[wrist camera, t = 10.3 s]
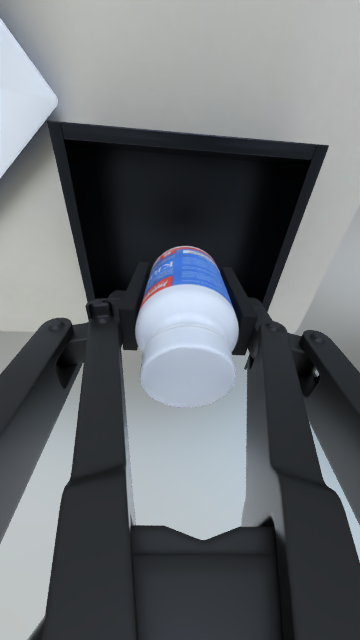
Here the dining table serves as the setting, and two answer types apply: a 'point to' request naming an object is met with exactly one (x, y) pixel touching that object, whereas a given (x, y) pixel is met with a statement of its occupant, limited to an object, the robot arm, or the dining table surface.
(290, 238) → the basin
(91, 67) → the dining table surface
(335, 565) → the robot arm
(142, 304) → the pill bottle
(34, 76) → the plate
